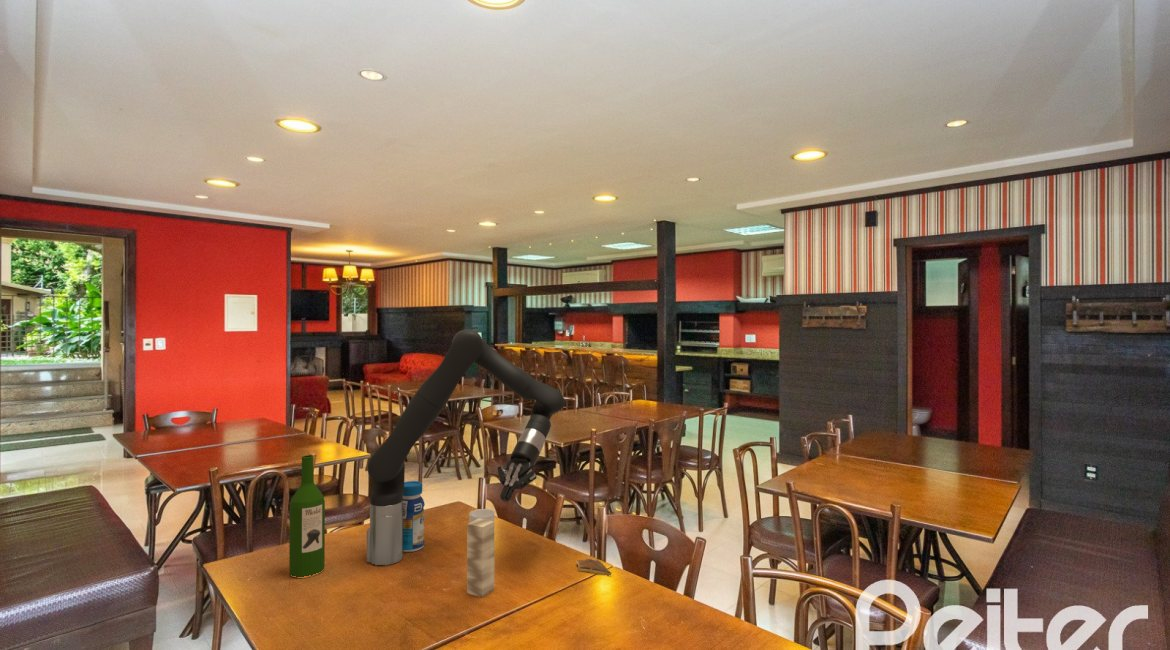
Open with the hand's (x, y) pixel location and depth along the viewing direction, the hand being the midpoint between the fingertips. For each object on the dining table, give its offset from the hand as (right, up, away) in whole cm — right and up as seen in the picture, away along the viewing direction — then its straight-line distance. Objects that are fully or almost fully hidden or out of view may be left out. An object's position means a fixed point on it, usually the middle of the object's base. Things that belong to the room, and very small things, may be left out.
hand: (504, 500), depth 159 cm
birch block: (-5, -21, -9) cm, 24 cm away
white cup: (-10, -21, +23) cm, 33 cm away
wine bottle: (-56, -21, +2) cm, 60 cm away
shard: (+26, -22, +6) cm, 34 cm away
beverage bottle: (-32, -21, +20) cm, 43 cm away
